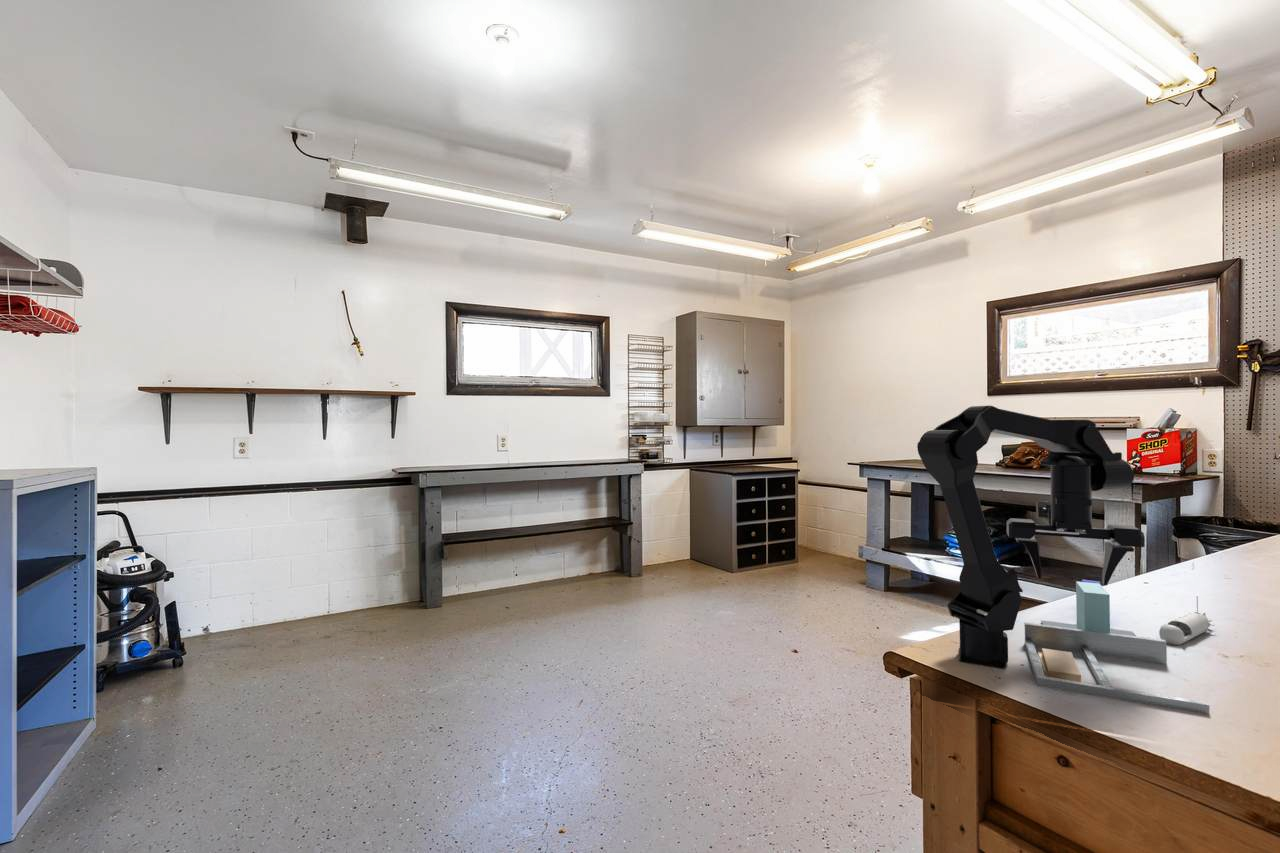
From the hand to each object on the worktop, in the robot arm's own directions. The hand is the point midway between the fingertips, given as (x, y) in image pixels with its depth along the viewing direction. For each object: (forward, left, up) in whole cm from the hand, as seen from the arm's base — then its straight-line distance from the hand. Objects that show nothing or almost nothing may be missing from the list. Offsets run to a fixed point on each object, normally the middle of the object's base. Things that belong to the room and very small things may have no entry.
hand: (1071, 581), depth 101 cm
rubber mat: (+4, +7, -12) cm, 14 cm away
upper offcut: (-3, -12, -11) cm, 17 cm away
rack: (+3, -11, -12) cm, 16 cm away
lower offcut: (-3, -11, -13) cm, 17 cm away
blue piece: (+7, +24, -12) cm, 28 cm away
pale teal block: (+4, +7, -11) cm, 14 cm away
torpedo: (+20, +17, -12) cm, 29 cm away
